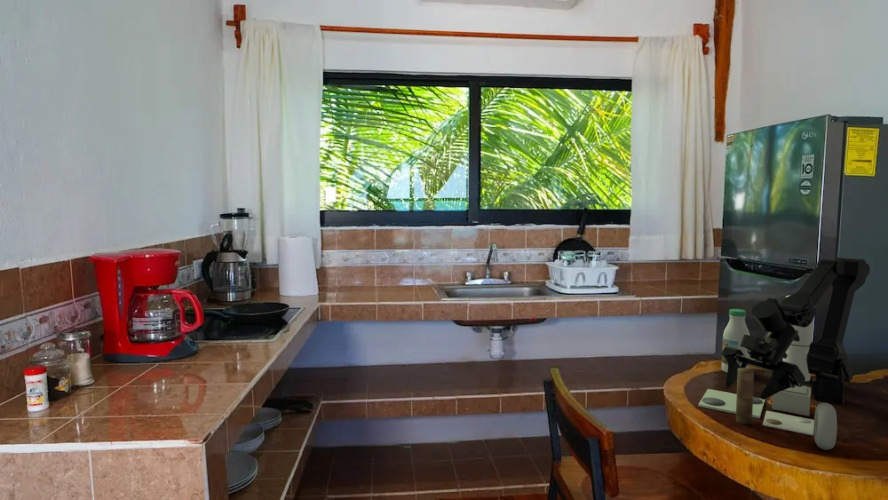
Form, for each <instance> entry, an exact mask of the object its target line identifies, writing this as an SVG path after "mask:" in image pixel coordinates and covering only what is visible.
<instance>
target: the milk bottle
mask: <svg viewBox="0 0 888 500" xmlns="http://www.w3.org/2000/svg"><path fill="white" fill-rule="evenodd" d="M728 312H729V313H728V316H729V321H728V323H727V325H726V327H725V328H724V330H723V334H722V346H721V351H722V350H723V349H724V348H725V347H728V346H729V347H733V348H736V349H740V350H741V351H742V353H743V354H744V355H745V356H746V357H750V358H751V355H750V354H748V353H747V350H748V349H746V348H744V347H741V346H740V344H741V341H742V339H743V336H744V334H746V335H750V336H751V334H750V332H749V331H750V330H749V329H748V326H747V324H746V316H747V311H746V310H745V309H740V308H732V309H729V311H728ZM746 368H748V369H750V365H747V366H746ZM721 370H722V371H723V372H725V373H727V372H728V362H727V361H726V360H725V358H724V357H723V355H722V354H721Z"/></svg>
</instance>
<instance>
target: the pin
mask: <svg viewBox="0 0 888 500" xmlns="http://www.w3.org/2000/svg"><path fill="white" fill-rule="evenodd" d="M754 383H755V370H754V369H752V368H749V369H748V368H738V373H737V380H736V394H737V400H736V414H735V421H736V422H737V423H740V424H742V425H752V424H753V417H752V412H753V397H754V386H755V385H754Z"/></svg>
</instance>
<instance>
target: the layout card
mask: <svg viewBox="0 0 888 500" xmlns="http://www.w3.org/2000/svg"><path fill="white" fill-rule="evenodd" d="M762 426H764V427H769V428H774V429H778V430H779V429H780V430H783V431H788V432H794V433H798V434H803V435H808V436H812V437H814V419H812V418H806V417H801V416H795V415H792V414H785V413H781V412H775V411H769V410H766V411H765V415H764V419H763V422H762Z"/></svg>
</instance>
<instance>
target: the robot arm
mask: <svg viewBox="0 0 888 500" xmlns="http://www.w3.org/2000/svg"><path fill="white" fill-rule="evenodd" d="M870 271H871V268H870V265H869V264H868V263H867V262H866V260H865V259H863V258H853V257H843V256H841V257H839V256H836V257H835V258H834V259H832V258H822V259H819V260H818V261H817V263H816V267H815V268H814V270H813V271H812V272H811V273H810V275H809V276H808V277H807V279H806V280H805V281H804V282H803V283H802V285H801V287H800V288H798V290H797V291H796V292H795V293H794V294H791V296H790V295H787V296H788V297H786V296H785V298H784V299H783V300H782V301H780V302H778V299H777V298H775V297H774V298H772V297H767V299H766V300H763V301H760V302H758V303H756V304H754V305H753V306H752V308H751V314H752V316H753V317H754V319H755V320H756V322H757V323H758V324H759V326H760V327H761V329H762V330H763V331H764V332H766V333H765V334H764V335H763V337H761V336H760V337H757V336H754V335H751V334H750V335H746V334H744V336H743V339H742V341H741V344H740V346H741V347H744V348H746V349H748V350H747V353H748V354H750V357H746V356H745V355H744V354H743V353H742V351H741V350H740V349H736V348H733V347H729V346H728V347H725V348H724V349H723V350H722V349H721V352H720V354H721V356H722V355H723V357H724V358H725V360H726V361H727V362H728V372H726V379H725V387H726V388H730V387H731V386H733V384H734V383H735V382H737V373H738V368H746V366H747V365H749V367H750V366H751V367H755V368H757V369H761V370H764V371H767V372H771V377H770V379H769V381H768V383H767V384H766V385H765V387H764V389H763V391H762V392H761V394H760V397H759V398H761V399H762V400H764V399H765V400H766V399H768V398H770V397H773V395H774V394H776V393H778V392H780V391H783V390H785V389H788V388H794V387H795V386H798V387H802V386H804V384H805V382H806V381H805V376H804V375H803V373H802V372H801V370H800V369H799V368H798V366H797V365H795V364H792V363H788V362H784V361H783V358H784V359H786V358H787V356H788V355H787V354H786V351H787V350H788V348H789V346H790V345H791V343H792V342H793V341H798V342H799V341H800V337H799V335H798V331H797V330H795V329H794V327H793V326H792V325H794V326H799V327H807V326H809V325H810V323H811V322H812V321H813V322H814V319H815V316H816V314H817V310H816V305H817V303H818V302H819V301H820V299H821V298H822V297H823V295H824V294H825V292H827V290H828V288H830V286H831V287H832V289H831V294H830V298H829V301H828V304H827V305H828V307H827V310H826V315H825V317H824V322H823V327H822V331H821V334H820V338H819V339H817V340H816V341H815V342H813V341H812V343H811V344H810V346H809V351H808V354H807V357H806V362H807V367H808V372H809V374H810V375H814V376H815V378H812V388H811V395H812V396H813V399H814V400H817V401H821V402H826V403H828V402H829V403H833V404H840V405H844V404H845V401H844V388H845V383H851V381H852V380H853V376H854V371H853V369H852V368H851V366H850V365H849V364H848V362H847V360H848V353H847V350H846V349H845V347H844V343H843V342H844V339H845V334H846V329H847V326H848V321H849V316H850V313H851V308H852V306H853V305H852V304H853V301H854V297H855V293H856V291H858V290H859V289H860V288H861V287H862V286H863V285H864V284H865V283H866V280H867V277H868V276H869V274H870Z"/></svg>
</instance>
